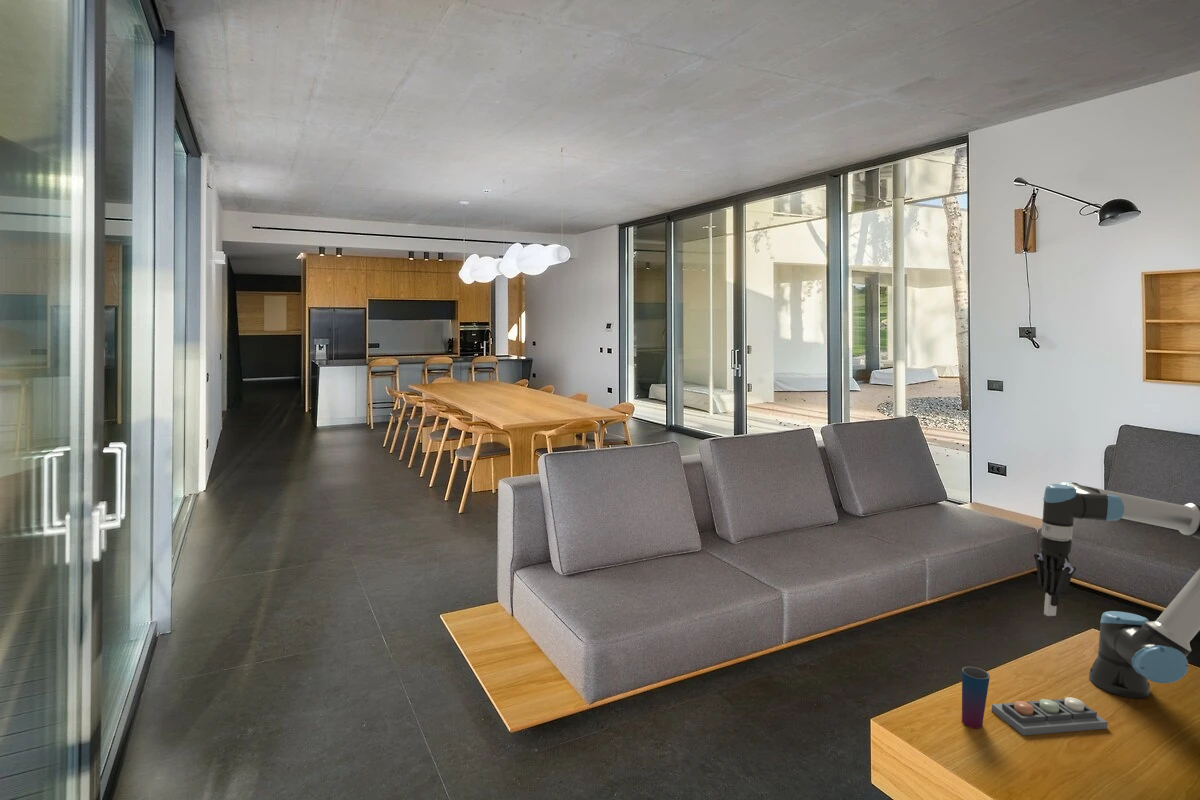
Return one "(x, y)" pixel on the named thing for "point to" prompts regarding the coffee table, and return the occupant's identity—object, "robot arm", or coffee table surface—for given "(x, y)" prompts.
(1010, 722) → the panel
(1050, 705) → the button sage
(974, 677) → the cup
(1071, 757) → the coffee table surface
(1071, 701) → the button cream
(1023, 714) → the button rust
